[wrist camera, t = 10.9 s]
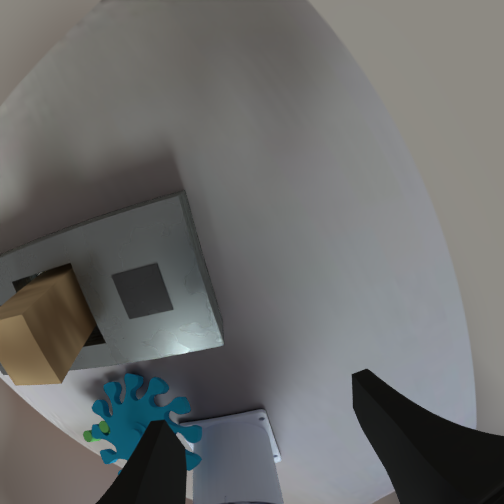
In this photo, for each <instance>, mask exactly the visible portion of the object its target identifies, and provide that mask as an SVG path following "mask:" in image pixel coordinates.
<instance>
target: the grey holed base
mask: <svg viewBox="0 0 504 504" xmlns="http://www.w3.org/2000/svg"><path fill="white" fill-rule="evenodd" d="M68 263H71V265H72V267H73V270H74V273H75V275H76V278H77V280H78V283H79V285H80V288H81V290H82V292H83V295H84V297H85V299H86V302H87V304H88V306H89V308H90V310H91V313H92V315H93V317H94V319H95V321H96V323H97V325H96V326H95V328H94V329H93V331H92V333H91V334H90V336H89V337H88V339H87V341H86V342H85V344H84V346H83V347H82V349H81V351H80V352H79V354H78V356H77V357H76V359H75V361H74V362H73V364H72V366H71V368H70V369H69V370H79V369H88V368H96V367H104V366H112V365H119V364H126V363H132V362H139V361H145V360H151V359H157V358H162V357H168V356H173V355H179V354H184V353H189V352H194V351H199V350H204V349H208V348H213V347H218V346H222V345H224V335H223V320H222V316H221V313H220V310H219V307H218V304H217V300H216V297H215V294H214V291H213V287H212V284H211V281H210V278H209V274H208V271H207V267H206V264H205V261H204V257H203V254H202V250H201V247H200V243H199V240H198V236H197V233H196V229H195V226H194V222H193V218H192V215H191V211H190V207H189V203H188V200H187V196H186V192H185V190H183V191H180V192H176V193H173V194H169V195H166V196H162V197H159V198H155V199H152V200H149V201H145V202H142V203H139V204H136V205H132V206H129V207H126V208H123V209H120V210H117V211H114V212H111V213H108V214H105V215H102V216H99V217H96V218H93V219H90V220H87V221H84V222H82V223H79V224H76V225H73V226H71V227H68V228H65V229H62V230H60V231H57V232H54V233H52V234H49V235H47V236H44V237H42V238H39V239H37V240H34V241H32V242H29V243H27V244H24V245H22V246H19V247H17V248H15V249H12V250H10V251H8V252H5V253H3V254H1V255H0V306H2V305H3V304H4V303H5V302H6V301H7V300H9V299H10V298H11V297H12V296H13V295H15V294H16V293H17V292H18V291H19V290H21V289H22V288H23V287H24V286H26V285H27V284H28V283H29V282H31V281H32V280H33V279H35V278H36V277H37V275H36V274H37V273H40V272H43V271H46V270H49V269H52V268H55V267H58V266H61V265H65V264H68ZM0 371H1V372H2V374H3V375H8V374H7V372H6V370H5V369H4V367H3V366H2V364H1V362H0Z"/></svg>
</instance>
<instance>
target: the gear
mask: <svg viewBox="0 0 504 504" xmlns="http://www.w3.org/2000/svg"><path fill="white" fill-rule="evenodd" d="M124 381H125V384H126V395H125V399H124V402H123V403H121V401H120V394H121V391H122V387H121V384H120V383H119V382H109V383H106V384H105V385H104V391H105V393H106V394H107V395H108V397H109V398H110V401H111V404H112V409H113V415H112V416H111V414H110V412H109V406H108V403H107V402H106V401H105V400H96V401H95V402H94V404H93V406H92V410H93V412H94V413H96V414H98V415H99V416H101V417H102V418H103V419H104V420H105V421H101V422H100V423H99V424H95V425H93V426H92V430H89V431H85V432H84V433H83V436H84V439H85V440H86V441H87V442H93V441H99V440H100V439H105V440H107V441H109V442H110V443H112V444H113V445H114V446H115V447H116V450H117V452H115V451H113V450H112V449H105V450H101V451H100V454H101V457H102V460H103V461H104V463H105V464H110V463H114V462H116V461H117V460H118V459H125V460H127V461H128V459H129V458H130V456H131V454H132V453H133V451H134V449H135V448H136V446H137V444H138V442H139V441H140V439H141V437H142V435H143V434H144V432H145V430H146V428H147V427H148V425H149V423H150V422H151V421H155V420H164V419H165V420H166V422H167V423H168V425H169V426H170V428H171V429H172V430H173V432H174V433H175V435H176V434H177V432H179V433H181V434H182V435H183V436H184V438H185V439H186V440H187V441H188V442H190V443H197V442H199V441H200V440H201V438H202V427H201V426H199V425H192V426H181V425H178V424H176V423H174V422H172V421H171V420H170V419H169V412H170V411H173V412H175V413H177V414H186V413H189V412H190V411H191V407H190V404H189V402H188V400H187V398H186V397H176V398H174V399H173V401H172V402H171V403H170V404H168V405H166V406H164V407H158V406H156V405H155V403H154V397H155V396H156V395H157V394H164V393H166V392H167V391H168V390H169V386H168V384H167V383H166V382H165V381H164V380H162V379H161V378H159V377H154V378H152V379H151V380H150V382H149V387H148V390H147V392H146V394H145V395H144V396H143V397H142V398H141V399H138V398H137V397H136V390H137V389H138V388H140V387H141V386H142V384H143V377H142V376H140V375H136V374H128V373H126V374H125V377H124ZM185 453H186V465H187V470H189V471H190V470H192V469H194V468H195V467H196V466H198V465H199V463H200V462H201V460H202V458H201V457H200V456H199V455H198V454H196V453H192V452H190V451H188V450H186V449H185ZM121 471H122V470H120V471H119V472H118V475H119V473H120V472H121Z"/></svg>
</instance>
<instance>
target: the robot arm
mask: <svg viewBox="0 0 504 504" xmlns="http://www.w3.org/2000/svg"><path fill="white" fill-rule="evenodd" d="M352 392H353V409H354V411H355V414H356V416H357V418H358V421H359V423H360V425H361V428H362V430H363V431H364V433H365V435H366V437H367V438H368V440H369V442H370V443H371V445H372V447H373V449H374V450H375V452H376V454H377V455H378V457H379V459H380V460H381V462H382V464H383V466H384V467H385V469H386V471H387V473H388V475H389V477H390V479H391V482H392V484H393V487H394V489H395V491H396V494H397V496H398V499H399V502H400V504H504V436H500V435H494V434H489V433H485V432H481V431H478V430H474V429H471V428H467V427H464V426H461V425H459V424H456V423H453V422H451V421H448V420H446V419H444V418H442V417H440V416H437V415H435V414H433V413H432V412H430V411H428V410H426V409H424V408H422V407H421V406H419V405H417V404H416V403H414V402H412V401H411V400H409V399H408V398H406V397H405V396H403V395H402V394H400V393H399V392H397V391H396V390H395V389H393V388H392V387H390V386H389V385H388V384H386V383H385V382H384V381H382V380H381V379H380V378H379V377H377V376H376V375H375V374H374V373H372V372H371V371H370V370H368V369H364V370H362V371H359V372H357V373H354V374H352ZM261 417H262V418H261ZM179 425H181V426H192V425H199V426H201V427H202V438H201V440H200V441H199V442H197V443H190V442H188V441H187V440H186V439H185V440H186V441H187V443H188V444H189V446H190V447H191V449H192V450H193V453H196V454H198V455H199V456H200V457H201V458H202V460H201V462H200V463H199V465H198V466H196V467H195V468H194V469H193V504H284V502H283V498H282V493H281V489H280V484H279V480H278V475H277V471H276V466H275V463H277V462H280V461H281V455H280V453H279V450H278V447H277V444H276V441H275V438H274V435H273V432H272V429H271V426H270V423H269V420H268V417H267V414H266V411H265V410H263V409H258V410H254V411H249V412H245V413H240V414H235V415H230V416H224V417H219V418H213V419H207V420H200V421H194V422H186V423H180V424H179ZM182 436H183V435H182ZM183 437H184V436H183ZM186 477H187V465H186V453H185V447H184V446H183V444H182V443H181V441H180V440H179V439H178V437H177V436H176V435H175V433H174V432H173V430H172V429H171V428H170V426H169V425H168V423H167V422H166V420H165V419H164V420H155V421H151V422H150V423H149V425H148V427H147V428H146V430H145V432H144V434H143V435H142V437H141V439H140V441H139V442H138V444H137V446H136V448H135V449H134V451H133V453H132V454H131V456H130V458H129V459H128V461H127V463H126V464H125V466H124V468H123V469H122V471H121V472H120V473H119V475H118V477H117V478H116V479H115V481H114V482H113V484H112V485H111V486H110V488H109V489H108V490H107V491H106V493H105V494H104V495H103V496H102V497H101V498H100V500H99V501H98V502H97V503H96V504H185V498H186Z"/></svg>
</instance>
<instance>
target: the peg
mask: <svg viewBox="0 0 504 504" xmlns="http://www.w3.org/2000/svg"><path fill="white" fill-rule="evenodd" d="M96 325H97V323H96V321H95V319H94V317H93V315H92V313H91V310H90V308H89V306H88V304H87V302H86V299H85V297H84V295H83V292H82V290H81V288H80V285H79V283H78V280H77V278H76V275H75V273H74V270H73V267H72V265H71V263H68V264H65V265H62V266H59V267H56V268H53V269H50V270H47V271H44V272H42V273H41V274H40V275H38V276H37V277H36V278H35V279H33V280H32V281H31V282H29V283H28V284H27V285H26V286H24V287H23V288H22V289H21V290H19V291H18V292H17V293H16V294H15V295H13V296H12V297H11V298H10V299H9V300H7V301H6V302H5V303H4V304H3V305H2V306H0V362H1V364H2V366H3V367H4V369H5V370H6V372H7V374H8V375H9V377H10V378H11V380H12V381H13V383H14V384H15V385H43V384H60V383H62V382H63V380H64V378H65V376H66V375H67V373H68V371H69V369H70V368H71V366H72V364H73V362H74V361H75V359H76V357H77V356H78V354H79V352H80V351H81V349H82V347H83V346H84V344H85V342H86V341H87V339H88V337H89V336H90V334H91V333H92V331H93V329H94V328H95V326H96Z"/></svg>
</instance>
